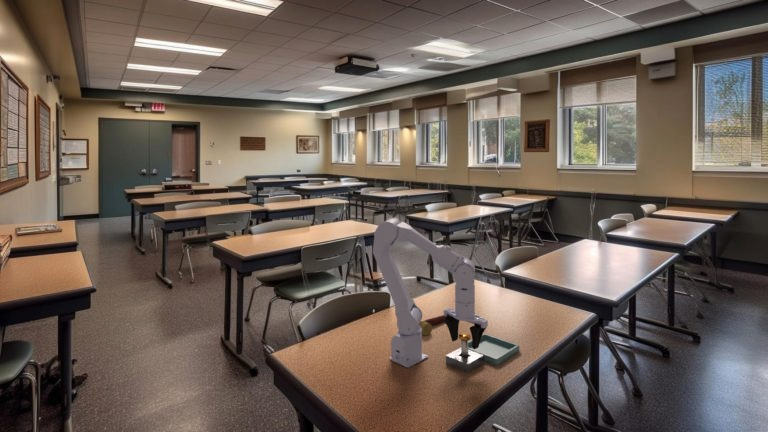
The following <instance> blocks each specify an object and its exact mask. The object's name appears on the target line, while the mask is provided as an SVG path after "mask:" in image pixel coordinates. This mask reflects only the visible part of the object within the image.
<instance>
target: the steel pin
mask: <svg viewBox="0 0 768 432" xmlns="http://www.w3.org/2000/svg"><path fill="white" fill-rule="evenodd" d="M458 339H459V340H461V344H460V345H461V357H463V358H467V357H468V341H470V340H472V335H471V334H470V333H468V332H467V333H466V332H463V333H462V332H461V333H460V334H459V333H458Z"/></svg>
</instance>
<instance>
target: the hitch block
mask: <svg viewBox="0 0 768 432" xmlns="http://www.w3.org/2000/svg"><path fill="white" fill-rule="evenodd" d="M484 363H485V361H484V355H482V354H479V353H476V352H474V351H471V350H468V357H467V358H463V357H461V348H460V347H458V349H455V350H454V351H451V352H449V353H448V354H445V364H447V365H449V366H452V367H454V368H456V369H459V370H461V371H463V372H465V373H470V372H472V371H473V370H475V369H476V368H478V367H479V366H482V365H483V364H484Z"/></svg>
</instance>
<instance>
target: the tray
mask: <svg viewBox="0 0 768 432" xmlns="http://www.w3.org/2000/svg"><path fill="white" fill-rule="evenodd" d="M459 348H461V344H460V347H459ZM468 350H471V351H474V352H476V353H479V354H482V355H484V362H486V363H489V364H492V365H494V366H495V367H496V366H498V365H500V364H502V363H503V362H505V361H506V360H508V359H510V357H513V356H514V355H516V354H518V353H519V352H520V344H516V343H514V342H511V341H508V340H505V339H502V338H499V337H496V336H492V335H490V334H488V333H484V332H483V334H482V337H481V340H480V343H479V347H478V348H477V349H473V347H472V339H470V340H468Z"/></svg>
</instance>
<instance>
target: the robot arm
mask: <svg viewBox="0 0 768 432" xmlns="http://www.w3.org/2000/svg"><path fill="white" fill-rule="evenodd" d="M373 236H374V237H373V246H372V254H373V257H374V259H375V261H376V265H377V266H378V268H379V270H380V273H381V275H382V278H383V280H384V282H385V285H386V287H387V289H388V291H389V294H390V297H391V300H392V302H393V304H394V310H395V311H394V315H395V316H396V320H397V321H396V326H397V329H398V330H397V333H396V334H395V335H394V336H392V338H391V341H390V352H391V353H390V354H391V355H390V356H389V360H391V361H393V362H394V363H396V364H398V365H401V366H404V367H405V368H410V367H412V366H414V365H416V364H417V363H420V362H421V361H423V360H425V359H428V357H429V355H427V354H425V353H423V335H422V328H421V327H420V324H419V322H420V321H422V319H423V311H422V310H421V308H420V307H419V306H418V305H417V304H416V303H415V300H414V299H413V298H412V297H410V295H409V292H408V289H407V287H406V285H405V283H404V280H403V278H402V275H401V273H400V271H399V268H398V266H397V263H396V261H395V259H394V256H393V253H392V249H393V246H394V244H395V241H396V240H397V241H396V242H397V243H399V242H402V243H403V242H409V243H411V244H412V245H413V246H416V247H417V248H418V249H420V250H422V251H424V252H426V253H428V254H429V255H430V256H431V259H432V262H434V263H435V264H437V265H438V266H440V267H441V268H443V269H444V270H446V271H448V272H449V273H451V274H453V277H454V279H455V285H454V306H455V307H454V308H453V309H452V308H449V307H447V308H445V309H443V315H444V316H447V317H446V318H445V319H444V322H443V323H445V325H446V327H447V329H448V332H449V335H450V338H451V341H452V342H455V341H457V340H458V339H459V325H460V321H462V322H466V323H469V324H473V325H472V326H470V327H469V331H470V333H471V334H470V336H471V340H472V347H473V349H477V348H478V347H479V343H480V340H481V337H482V334H484V332H485V331H486V329H487V327H489V326H488V325H489V323H488V322H489V321H488V319H485V318H484V317H481V316H480V315H478V314H476V312H475V311H476V309H475V308H476V304H475V303H476V290H475V289H476V285H475V276H476V274H475V273H476V272H475V271H476V266H475V264H474V263H475V262H473V261H472V260H471V259H470V258H468V257H465V256H464V255H460V254H458V253H457V252H455V251H454V250H452V246H450V245H448V244H447V246H445V245H444V244H442V245H441V244H440V245H437V244H435V242H432V241H431V240H430V239H428V238H427V237H426V236H424V235H423V234H421V233H420V232H419V231H417V230H416V229H415V228H413V227H411V226H410V225H409V224H408V223H406V222H404V221H402V220H401V219H398V218H397V217H390V218H388V219H386V220H384V221H382V222H381V223H379V224H378V225H377V227H376V229H375V231H374V233H373Z"/></svg>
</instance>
